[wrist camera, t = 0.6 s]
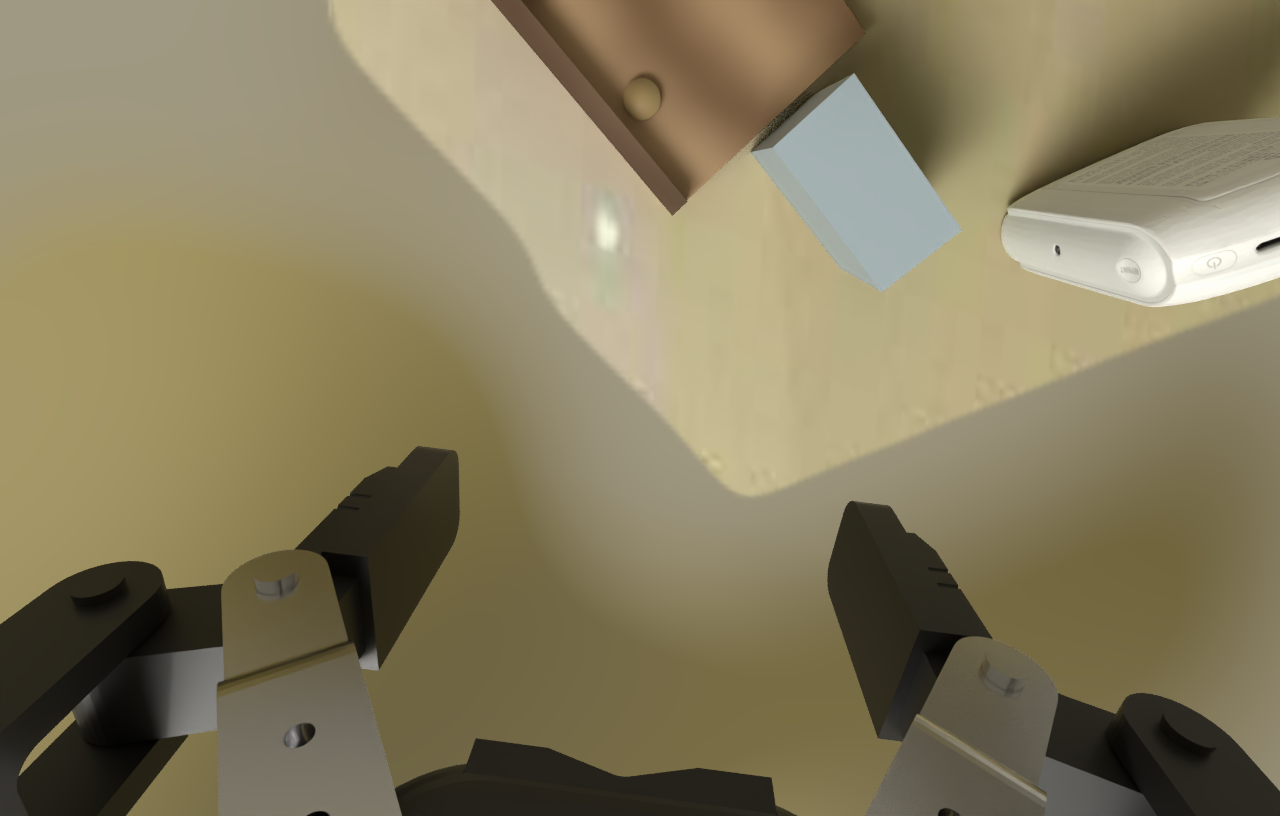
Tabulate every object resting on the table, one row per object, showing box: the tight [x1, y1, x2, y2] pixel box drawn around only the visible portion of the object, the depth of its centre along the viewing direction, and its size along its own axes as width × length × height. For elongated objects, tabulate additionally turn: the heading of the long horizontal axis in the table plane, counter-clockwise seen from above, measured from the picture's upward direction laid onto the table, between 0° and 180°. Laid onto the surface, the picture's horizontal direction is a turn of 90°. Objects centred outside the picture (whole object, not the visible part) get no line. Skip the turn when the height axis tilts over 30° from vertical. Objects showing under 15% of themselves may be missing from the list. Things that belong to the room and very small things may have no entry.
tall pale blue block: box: [751, 73, 962, 292], centre depth 28 cm, size 4×8×7 cm, turn 42°
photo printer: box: [1001, 117, 1280, 307], centre depth 25 cm, size 10×4×12 cm, turn 116°
